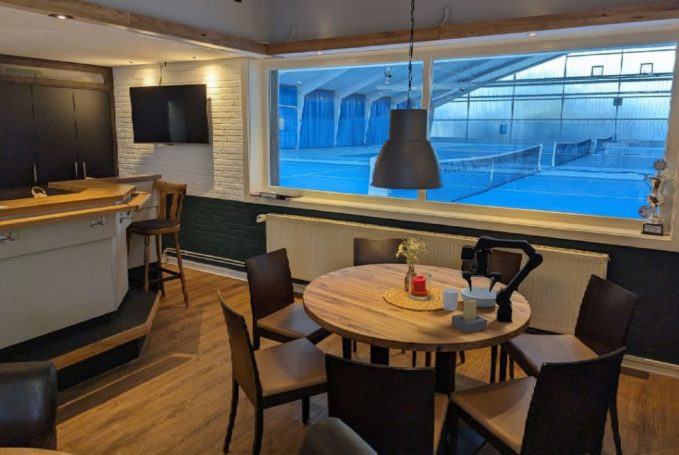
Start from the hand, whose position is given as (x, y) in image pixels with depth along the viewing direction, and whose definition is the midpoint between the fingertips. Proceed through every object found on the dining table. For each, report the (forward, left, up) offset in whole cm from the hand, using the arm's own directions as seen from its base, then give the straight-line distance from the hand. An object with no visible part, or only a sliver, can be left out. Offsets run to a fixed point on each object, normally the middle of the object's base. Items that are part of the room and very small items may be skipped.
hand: (480, 292), depth 257 cm
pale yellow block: (+7, +14, -13) cm, 20 cm away
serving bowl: (-4, -19, -13) cm, 24 cm away
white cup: (+13, -10, -13) cm, 21 cm away
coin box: (+7, +14, -13) cm, 20 cm away
